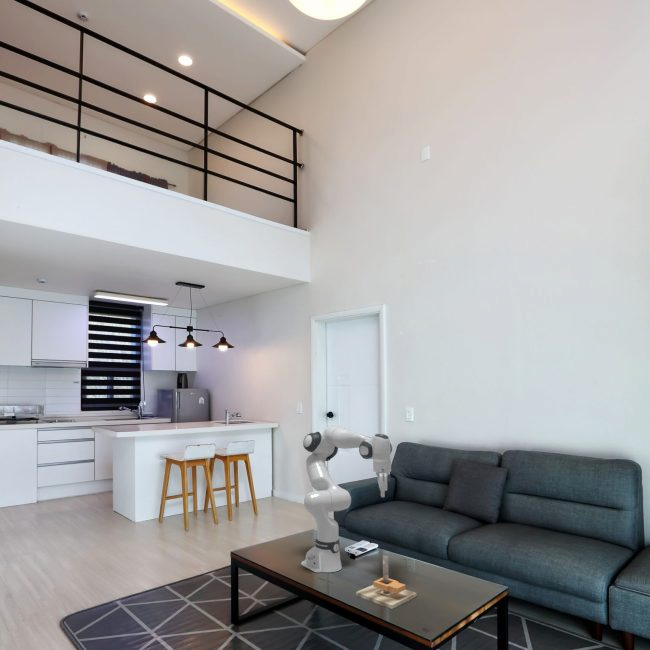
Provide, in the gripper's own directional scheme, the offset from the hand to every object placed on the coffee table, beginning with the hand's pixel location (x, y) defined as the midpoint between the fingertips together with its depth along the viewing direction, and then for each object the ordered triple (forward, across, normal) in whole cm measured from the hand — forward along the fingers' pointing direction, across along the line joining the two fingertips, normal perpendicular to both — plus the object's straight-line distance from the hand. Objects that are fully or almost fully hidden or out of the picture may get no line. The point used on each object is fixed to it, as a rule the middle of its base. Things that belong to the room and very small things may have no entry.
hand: (382, 496), depth 246 cm
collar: (+35, -20, -1) cm, 40 cm away
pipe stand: (+39, -18, 0) cm, 43 cm away
